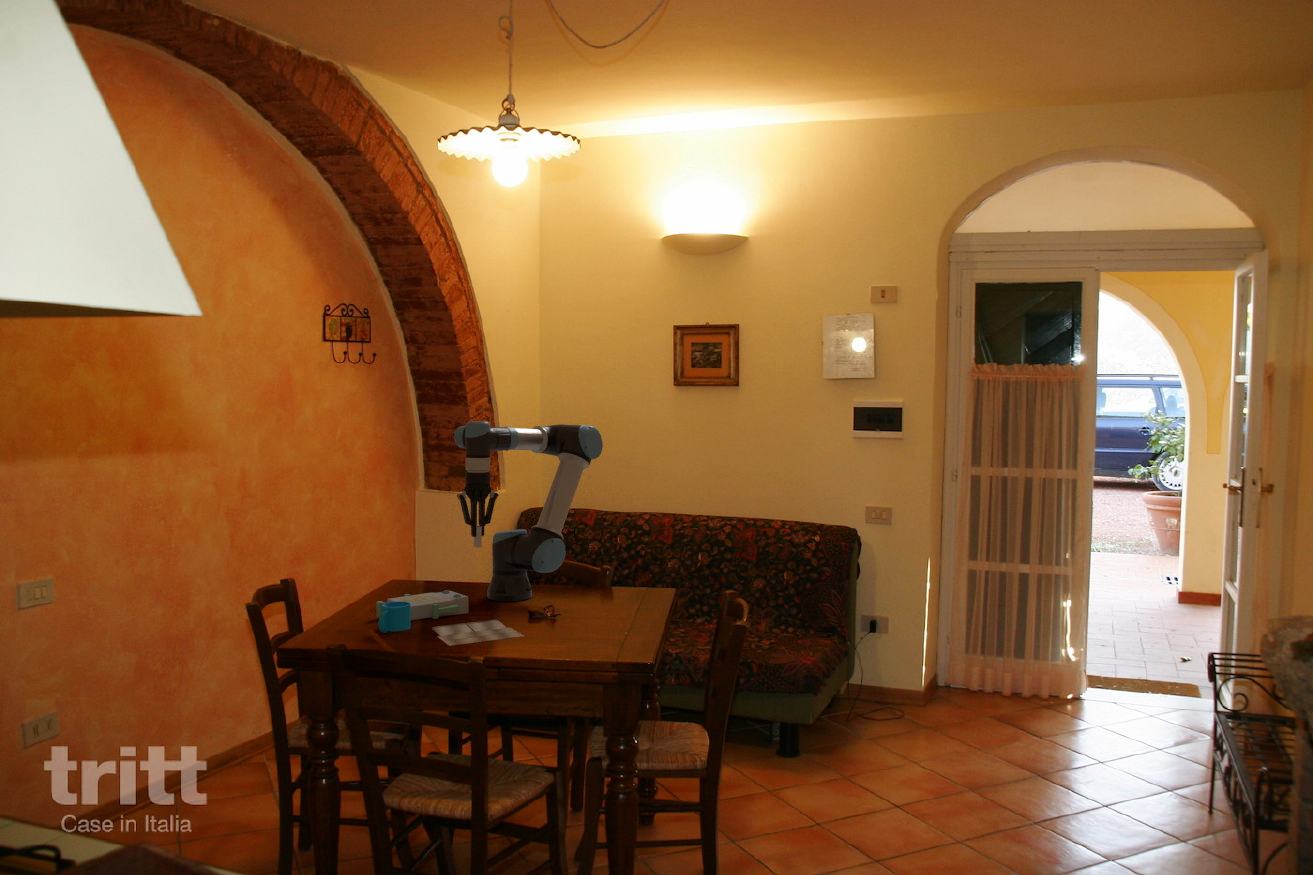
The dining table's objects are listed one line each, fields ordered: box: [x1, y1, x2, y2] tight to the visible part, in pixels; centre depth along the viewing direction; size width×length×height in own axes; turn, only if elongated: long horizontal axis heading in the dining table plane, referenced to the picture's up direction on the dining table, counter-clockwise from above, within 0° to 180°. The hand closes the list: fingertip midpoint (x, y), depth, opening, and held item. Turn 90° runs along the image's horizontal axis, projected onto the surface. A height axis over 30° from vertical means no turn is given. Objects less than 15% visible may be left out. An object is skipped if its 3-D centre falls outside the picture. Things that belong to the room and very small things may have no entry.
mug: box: [377, 601, 412, 634], centre depth 273 cm, size 12×8×8 cm
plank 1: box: [431, 623, 474, 636], centre depth 273 cm, size 10×8×1 cm
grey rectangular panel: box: [465, 619, 508, 632], centre depth 278 cm, size 10×8×1 cm
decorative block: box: [375, 590, 469, 621], centre depth 295 cm, size 26×6×20 cm
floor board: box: [437, 627, 525, 646], centre depth 267 cm, size 22×11×1 cm, turn 120°
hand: (477, 546), depth 292 cm, fingers closed
